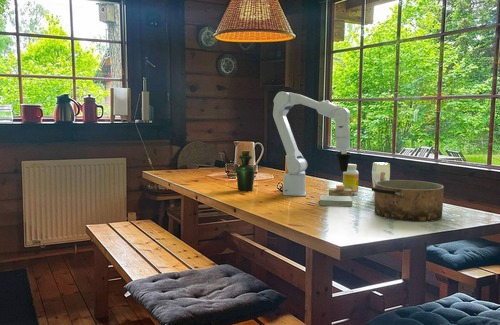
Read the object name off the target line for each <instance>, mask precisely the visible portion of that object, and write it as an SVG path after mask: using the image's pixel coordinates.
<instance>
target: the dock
mask: <svg viewBox="0 0 500 325" xmlns="http://www.w3.org/2000/svg"><path fill="white" fill-rule="evenodd" d="M319 205H320V206H330V207H331V206H333V207H334V206H335V207H339V206H340V207H353V198H352V196H329V195H324V194H323V195H320V196H319Z"/></svg>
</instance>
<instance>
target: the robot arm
mask: <svg viewBox="0 0 500 325" xmlns="http://www.w3.org/2000/svg"><path fill="white" fill-rule="evenodd" d="M272 101H273V109H272V110H273V111H272V117H273V119H274V120H273V121H274V123H275V126H276V129H277V131H278V134H279V136H280V139H281V142H282V145H283V147H284V150H285V153H286V156H285V161H286V170H287V172H288V173H284V174H283V178H282V179H283V180H282V182H283V183H282V184H283V186H282V195H283V196H293V197H294V196H296V197H302V196H303V197H305V196H307V192H306V170H307V168H308V162H307V160H306V158H304V156H303V154H302V153H301V151H300V150H299V148H298V146H297V142H296V139H295V137H294V134H293V131H292V129H291V125H290V123H289V121H288V118H287V114H288V113H289V112H290V109H292V108H293V106H295V105H303V106H306V107H309V108H311V109H314V110H316V112H317V114H320V115H322V116H324V117H327V118H330V119H332V120H334V122H335V123H334V124H335V125H334V126H335V127H334V128H335V129H334V133H335V135H334V136H335V151H338V152H336V153H335V156H336V157H337V159H338V164H339V168H340V171H341V172H342V173H343V172H347V168H348V164H349V161H350V159H351V157H352V154H351V153H350V151H351V150H354V147H351V136H350V135H351V132H350V129H351V128H350V119H351V116H352V115H351V111H350V110H349V109H348V108H346V106H345V107H343V106H342V107H341V104H334V103H332V102H330V100H328V99H326V100H322V101H317V100H315V99H312V98H310V97H308V96H305V95H302V94H300V93H294V92H290V91H288V92H286V91H283V90H282V91H279V92H277V93H276V95H275V96H274V98H273V100H272Z"/></svg>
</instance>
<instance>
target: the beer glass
mask: <svg viewBox="0 0 500 325" xmlns="http://www.w3.org/2000/svg"><path fill="white" fill-rule="evenodd" d="M390 177H391V163H389V162H380V161H379V162H378V161H377V162H372V170H371V178H372V179H371V180H372V188H373V187H375V183H376V182H378V181H385V180H390ZM371 199H372V201H374V202H375V191H372V198H371Z"/></svg>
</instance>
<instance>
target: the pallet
mask: <svg viewBox="0 0 500 325" xmlns="http://www.w3.org/2000/svg"><path fill="white" fill-rule="evenodd" d="M328 196H351V197H352V196H353V195H352V190H351V189H344V190H336V187H328Z"/></svg>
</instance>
